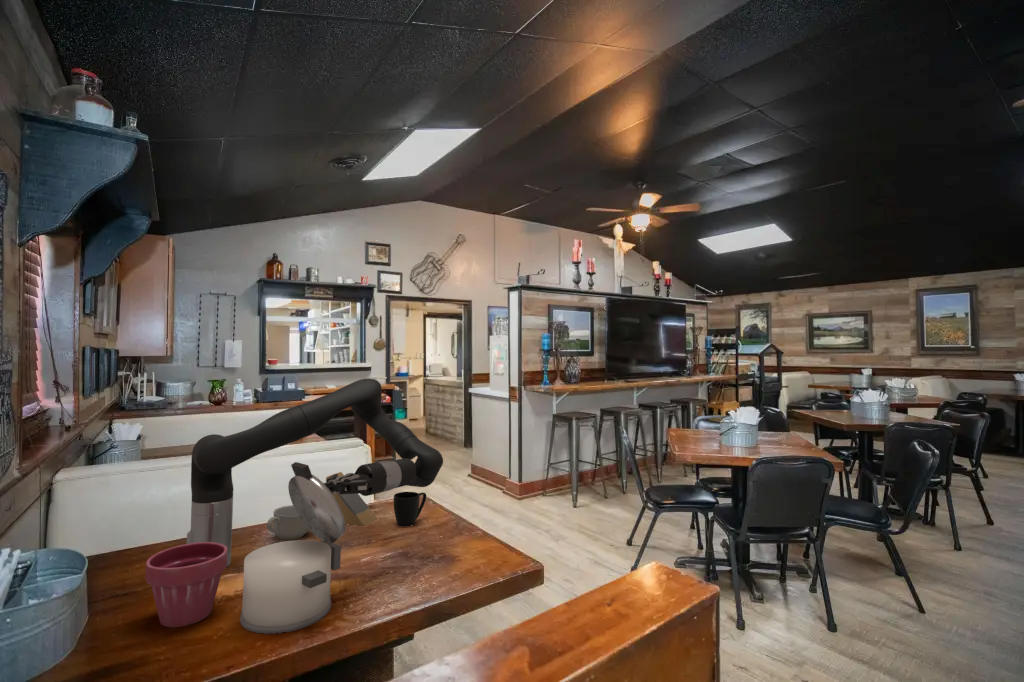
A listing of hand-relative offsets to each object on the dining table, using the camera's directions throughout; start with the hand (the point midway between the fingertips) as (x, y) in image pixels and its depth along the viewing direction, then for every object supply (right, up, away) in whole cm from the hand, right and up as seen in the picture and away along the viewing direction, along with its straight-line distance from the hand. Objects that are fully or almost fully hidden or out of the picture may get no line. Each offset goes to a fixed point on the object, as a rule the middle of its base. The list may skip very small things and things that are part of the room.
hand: (315, 490), depth 113 cm
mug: (+11, -27, +53) cm, 60 cm away
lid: (-1, -3, -1) cm, 3 cm away
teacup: (-23, -26, +38) cm, 51 cm away
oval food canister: (-4, -24, -5) cm, 25 cm away
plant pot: (-24, -24, -8) cm, 35 cm away
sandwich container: (-9, -26, +54) cm, 61 cm away
